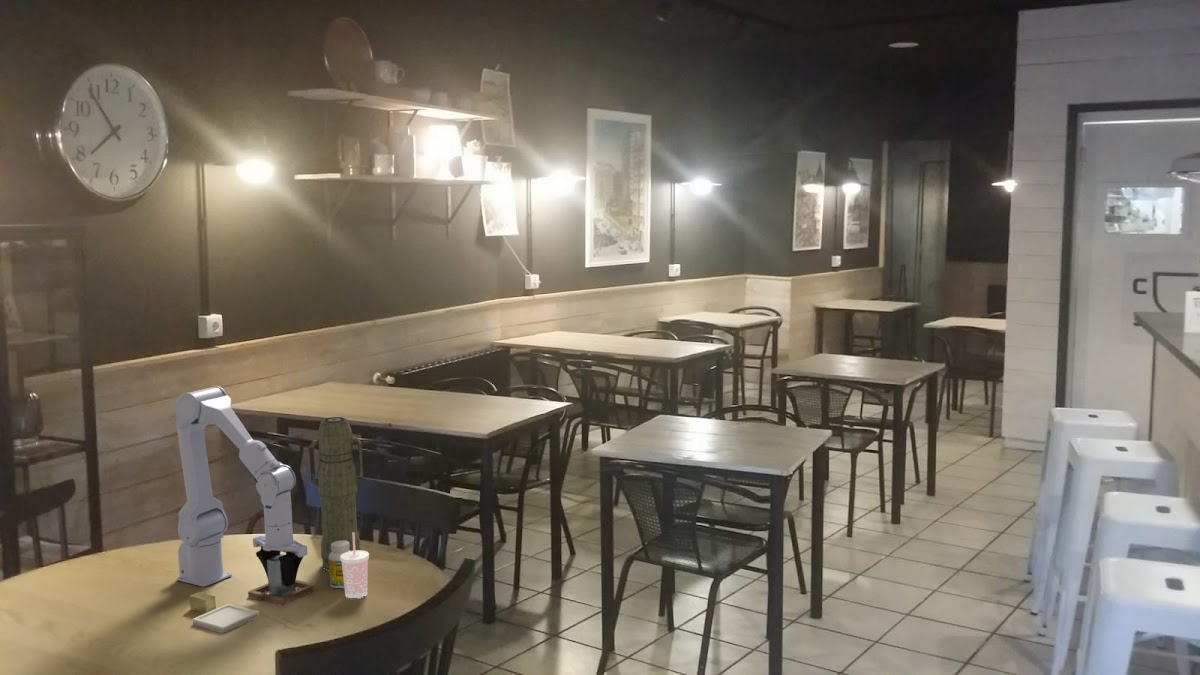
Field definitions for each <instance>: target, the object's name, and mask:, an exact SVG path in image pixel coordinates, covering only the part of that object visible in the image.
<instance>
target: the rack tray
mask: <svg viewBox="0 0 1200 675" xmlns="http://www.w3.org/2000/svg"><path fill="white" fill-rule="evenodd" d="M259 617H260V612H259V610H254V609H251V608H247V607H243V606H240V605H236V604H232V603H226V604H224V605H221V606H220V607H216V609H214V610H212V611H210V612H207V613H202V614H201V615H198V616H196V617H194V618H192V625H193V626H196V627H197V626H198V627H200V628H204V629H208V630H211V631H214V632H218V633H220V634H225V633H227V632H230V631H231V630H234V629H236V628H238V627H240V626H242V625H245V624H247V623H249V622H252V621H253V620H256V619H258V618H259Z"/></svg>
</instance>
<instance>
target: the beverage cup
mask: <svg viewBox="0 0 1200 675" xmlns="http://www.w3.org/2000/svg"><path fill="white" fill-rule="evenodd" d="M352 535H353V551H348V552H345V553H343V554H341V556H340V561H341V562H342V569H343V578H344V586H345V588H344V594H345V597H346V598H347V597H348V598H347V599H349V598H358V599H362V598H364V597H363V596H365V597H366V596H367V595H368V582H369V580H368V579H369V578H368V576H369V574H368V573H369V572H368V571H369V570H368V569H369V558H370V553H369V552H368V551H367V550H361V549H360V550H355V532H353V533H352ZM361 597H362V598H361Z"/></svg>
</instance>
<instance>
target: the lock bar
mask: <svg viewBox="0 0 1200 675" xmlns="http://www.w3.org/2000/svg"><path fill="white" fill-rule="evenodd" d="M189 605H190V610H191V611H195V612H198V613H202V614H205V613H207V612H210V611H212V610H214V609H217V605H216V596H215V595H212V594H209V593H208V594H207V593H204V592H200V591H198V592H195V593H193V594H191V595H189Z"/></svg>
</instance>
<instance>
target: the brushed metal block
mask: <svg viewBox="0 0 1200 675" xmlns="http://www.w3.org/2000/svg"><path fill="white" fill-rule="evenodd" d="M283 555H284V554H283V553H280V555H277V556H275V557H272V558H270V559H267V570H268V578H267V583H268V587H269V591H268V594H269V595H273V596H277V597H281V598H282V597H284V596H286V595H288V594H291V593H293V592H295V591H297V587H296V583H295V584H293V585H291V586H289V587H288V586H286V585H285V580H284V572H283V568H282V565H281V563H280V561H279V558H278V557H280V556H283Z"/></svg>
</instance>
